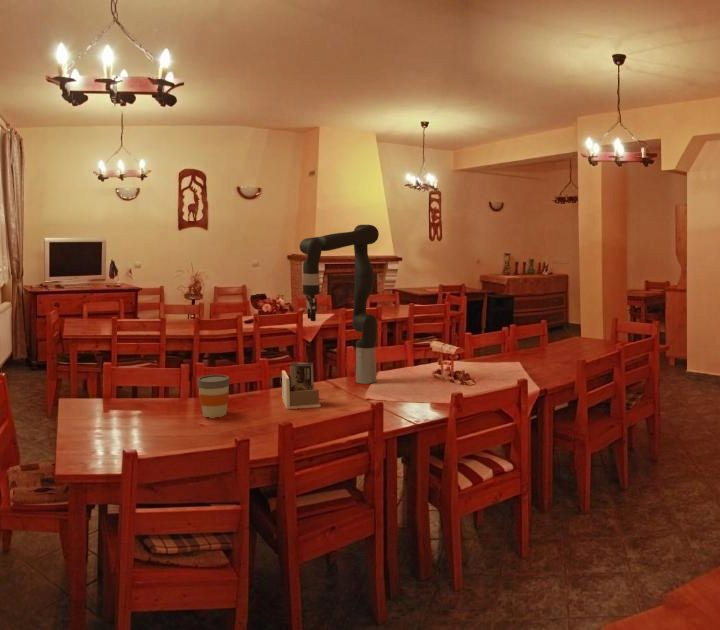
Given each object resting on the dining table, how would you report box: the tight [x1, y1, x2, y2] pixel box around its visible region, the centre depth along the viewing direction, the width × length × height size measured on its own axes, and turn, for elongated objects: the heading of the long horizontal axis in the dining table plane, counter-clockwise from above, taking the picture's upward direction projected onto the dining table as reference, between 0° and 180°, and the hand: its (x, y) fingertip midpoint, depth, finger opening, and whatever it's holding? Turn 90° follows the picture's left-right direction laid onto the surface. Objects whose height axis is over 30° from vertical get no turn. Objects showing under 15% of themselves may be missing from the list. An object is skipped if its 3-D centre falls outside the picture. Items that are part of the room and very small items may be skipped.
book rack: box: [281, 370, 321, 410], centre depth 270 cm, size 14×15×13 cm
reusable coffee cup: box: [196, 374, 231, 419], centre depth 253 cm, size 13×13×15 cm
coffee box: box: [289, 362, 315, 391], centre depth 269 cm, size 9×6×16 cm
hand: (311, 319), depth 285 cm, fingers open, 8 cm apart
